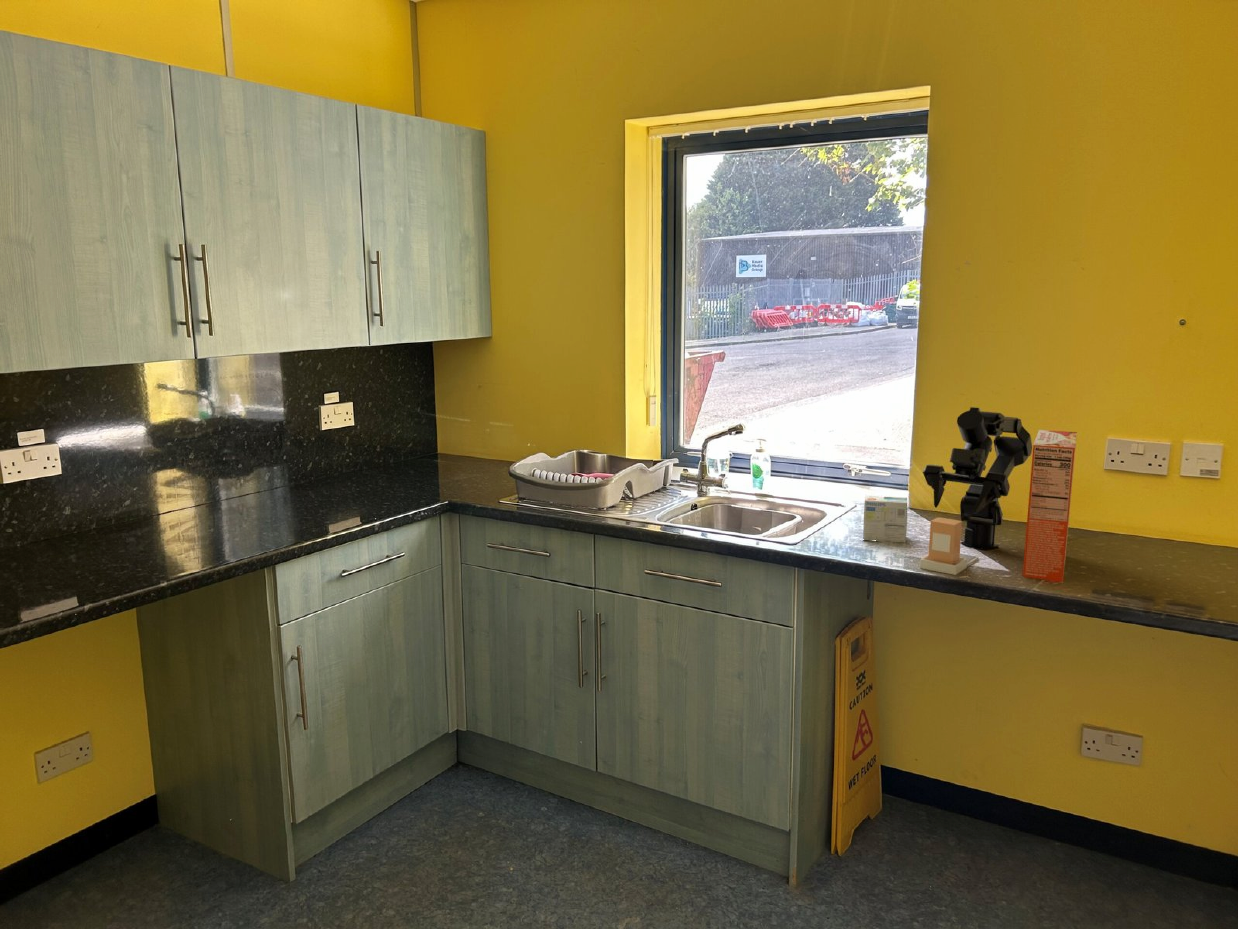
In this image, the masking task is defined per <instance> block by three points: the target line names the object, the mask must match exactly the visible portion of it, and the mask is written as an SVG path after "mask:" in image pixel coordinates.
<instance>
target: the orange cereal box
mask: <svg viewBox="0 0 1238 929" xmlns="http://www.w3.org/2000/svg"><path fill="white" fill-rule="evenodd" d="M1037 432H1038V433H1037V434H1036V437H1035V439H1034V442H1033V444H1032V454H1031V455H1032V456H1031V457H1032V459H1031V470H1030V482H1029V483H1030V484H1029V493H1028V507H1027V519H1026V529H1025V530H1026V531H1025V542H1024V543H1025V544H1024V554H1023V555H1024V556H1023V568H1022V577H1024V578H1033V579H1041V580H1046V581H1045V582H1049V581H1050V582H1051V581H1053V582H1052V583H1057V582H1063V583H1064V575H1065V566H1066V556H1067V554H1066V553H1067V544H1068V533H1069V522H1070V514H1071V512H1070V511H1071V502H1072V501H1071V500H1072V491H1073V490H1072V489H1073V480H1074V479H1073V477H1074V470H1075V469H1074V467H1075V456H1076V447H1077V446H1076V445H1077V435H1078V432H1076V431H1064V430H1063V431H1062V430H1047V429H1044V430H1043V429H1039V430H1038V431H1037Z"/></svg>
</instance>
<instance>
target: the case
mask: <svg viewBox="0 0 1238 929" xmlns="http://www.w3.org/2000/svg"><path fill="white" fill-rule="evenodd" d="M928 557H929V553H928V554H927V555H924V556H923V557H921V558H920V564H919V569H922V570H928V571H932V572H939V573H942V574H948V575H954V576H956V575H958V574H959V573H961V572H962V571H964V570H965V569H967V567H968V566H967V558H962V557H960V559H959V563H958V564H956V565H951V564H946V563H941V562H935V561H930V560H928Z"/></svg>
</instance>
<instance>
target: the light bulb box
mask: <svg viewBox="0 0 1238 929" xmlns="http://www.w3.org/2000/svg"><path fill="white" fill-rule="evenodd" d="M863 503H864V506H863V530H862V531H863V532H862V533H863V535H862V540H863V539H864V540H876V541H883V542H892V541H893V542H895V543H906V541H907V530H908V498H907V497H906V496H887V495H886V496H883V495H881V496H880V495H867V494H866V495H865V496H864V502H863ZM876 541H875V542H876Z"/></svg>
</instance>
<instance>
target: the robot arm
mask: <svg viewBox="0 0 1238 929" xmlns="http://www.w3.org/2000/svg"><path fill="white" fill-rule="evenodd" d="M956 424H957V428H958V430H959V433H960V435H961V439H962V441H964V442H965V443H964V447H963V448H958V447H953V448H951V454H950V458H949V462H950V463H952V466H951V468H952V470H953V471H954V472H949V471H945V468H944V466H943V465H937V464H936V465H935V464H926V466H925V467H924V469H923V472H922V474H923V477H924V478H925V482H926V485H928V486H929V487H931V489H932V490H933V506H934V508H936V509H937V508H938V506H939V505H940V502H941V500H942V497H943V495H944V492H945V490H946V489H945V487H944V486H946V484H947V482H952V483H961V484H965V485H969V487H968V489H967V490H966V491H965V494H964V496H963V497H962V498H961V499H960V506H959V509H960V510H959V511H960V521H962V522H966V527H965V528H964V540H963V541H962V540H961V544H960V545H964V546H966V547H969V548H972V549H975V550H980V551H981V550H988V549H996V548H997V549H998V548H999V544H996V543H995V535H996V526H1002V524H1003V518H1004V517H1003V510H1002V507H1001V504H1000V502H999V499H1001V498H1002V497H1007V496H1008V495H1009V492H1010V488H1011V486H1010V482H1009V479H1008V478H1009V477H1010V475H1011V474H1012V472H1013V470H1014V468H1015V467H1018V466H1020V465H1021V466H1022V465H1024V464H1025V463H1026V461H1027V460H1028V458H1029V457H1030V456H1031V455H1032V454H1033V444H1032V443H1033V442H1032V436H1031V434H1030V432H1028V430H1026V429H1025V427H1024V426H1023V423H1022V419H1021V418H1019V417H1013V416H1005V415H1004V414H1002V413H1001V412H997V411H996V412H994V411H993V412H992V411H982V410H980V408H979V407H975V406H974V407H973V406H970V409H969V410H967V411H966V410H965V411H963V413H961V414H960V415H959V416H957V418H956ZM1003 433H1009V434H1015V436H1016V437H1015V436H1005V435H1004V436H1003ZM991 437H994V439H992V438H991ZM993 445H994V450H995V455H996V457H995V460H994V461H993V463H992V465H990V468H989V469H988V471H987V473H986V474H985V476H982V474H983V471H986V469H987V467H986V462H987V460H988V458H989V454H990V453H991V452H992V451H993V449H992V448H993V447H992V446H993Z"/></svg>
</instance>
